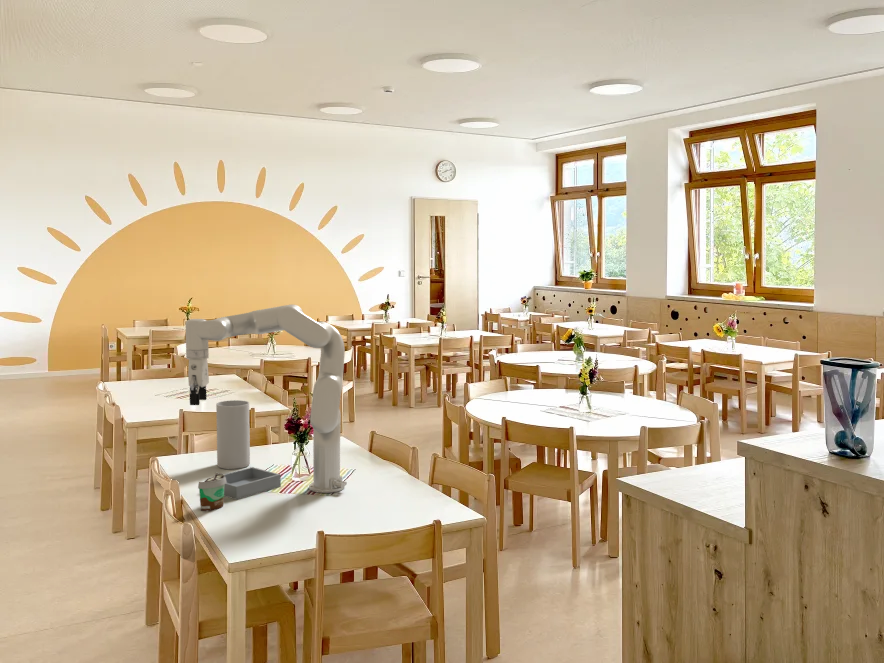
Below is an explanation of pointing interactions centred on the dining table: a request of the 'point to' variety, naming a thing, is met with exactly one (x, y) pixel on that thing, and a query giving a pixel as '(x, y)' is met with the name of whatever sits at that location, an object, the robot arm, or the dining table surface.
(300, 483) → the dining table surface
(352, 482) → the dining table surface
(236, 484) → the bin
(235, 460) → the cylinder vase
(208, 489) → the food container
